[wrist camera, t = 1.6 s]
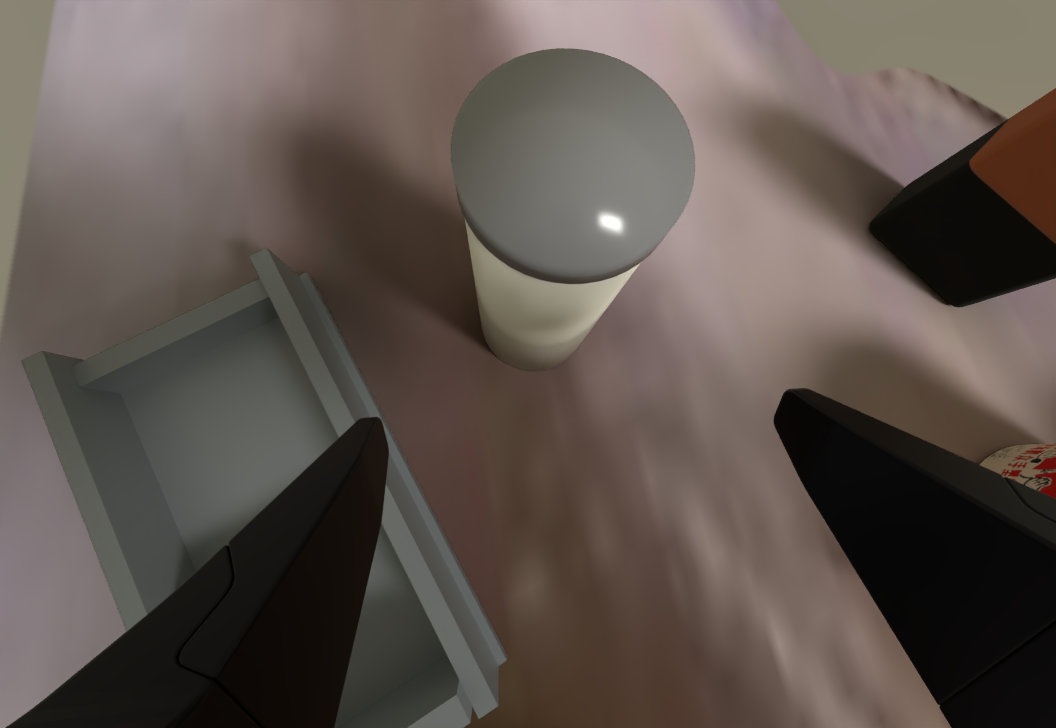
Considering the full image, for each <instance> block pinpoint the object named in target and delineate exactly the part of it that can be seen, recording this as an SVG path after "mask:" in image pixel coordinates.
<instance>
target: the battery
mask: <svg viewBox="0 0 1056 728" xmlns="http://www.w3.org/2000/svg"><path fill="white" fill-rule="evenodd" d="M869 228H870V230H871V232H872V233H873V234H874V235H875V236H876V237H878V238H879V239H880V240H881V241H882V242H883V243H884V244H885V245H886V246H887V247H888V248H889V249H891V250H892V251H893V252H894V253H895V254H896V255H897V256H898V257H899V258H900V259H902V260H903V261H904V262H905V263H906V264H907V265H908V266H909V267H910V268H911V269H912V270H914V271H915V272H916V273H917V274H918V275H919V276H920V277H921V278H922V279H923V280H924V281H926V282H927V283H928V284H929V285H930V286H931V287H932V288H933V289H934V290H935V291H937V292H938V293H939V294H940V295H941V296H942V297H943V298H944V299H945V300H946V301H948V302H949V303H950V304H951V305H953V306H955V307H964V306H968V305H971V304H974V303H978V302H981V301H984V300H987V299H990V298H994V297H997V296H1000V295H1003V294H1007V293H1010V292H1013V291H1016V290H1019V289H1023V288H1026V287H1029V286H1032V285H1035V284H1039V283H1042V282H1045V281H1048V280H1052V279H1055V278H1056V89H1054V90H1053V91H1051V92H1049V93H1048V94H1046V95H1045V96H1043V97H1042V98H1040V99H1038V100H1037V101H1035V102H1034V103H1032V104H1031V105H1029V106H1028V107H1026V108H1025V109H1023V110H1022V111H1020V112H1019V113H1017V114H1015V115H1014V116H1012V117H1011V118H1009V119H1008V120H1006V121H1005V122H1003V123H1002V124H1000V125H999V126H997V127H996V128H994V129H993V130H991V131H989V132H988V133H986V134H985V135H983V136H982V137H980V138H979V139H977V140H976V141H974V142H973V143H971V144H970V145H968V146H966V147H965V148H963V149H962V150H960V151H959V152H957V153H956V154H954V155H953V156H951V157H950V158H948V159H947V160H945V161H944V162H942V163H940V164H939V165H937V166H936V167H934V168H933V169H931V170H930V171H928V172H927V173H925V174H924V175H922V176H921V177H919V178H918V179H916V180H914V181H913V182H911V183H910V184H909V185H907V186H906V187H905V188H904V189H903V190H902V191H901V192H900V193H899V194H898V195H897V196H896V197H895V198H894V199H893V200H892V201H891V202H890V203H889V204H888V205H887V206H886V207H885V208H884V209H883V210H882V211H881V212H880V213H879V214H878V215H877V216H876V217H875V218H874V219H873V221H872V222H871V223H870V225H869Z"/></svg>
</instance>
